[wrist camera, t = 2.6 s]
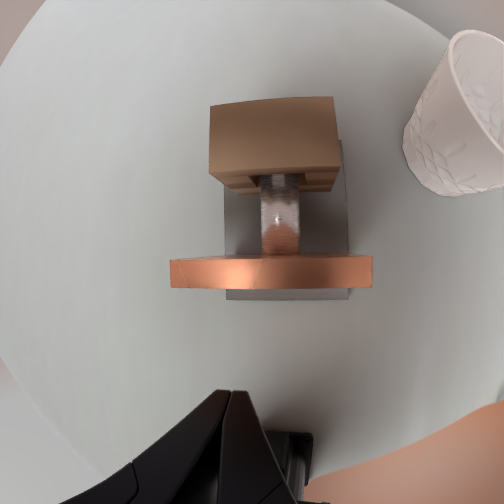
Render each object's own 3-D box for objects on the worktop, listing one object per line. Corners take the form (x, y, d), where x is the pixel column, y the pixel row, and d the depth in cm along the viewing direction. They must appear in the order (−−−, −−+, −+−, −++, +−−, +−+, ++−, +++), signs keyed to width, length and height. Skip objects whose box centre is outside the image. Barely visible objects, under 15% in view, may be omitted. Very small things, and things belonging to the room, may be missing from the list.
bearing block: (346, 297, 18) (366, 322, 12) (228, 298, 20) (192, 321, 13) (340, 142, 18) (352, 96, 12) (226, 149, 20) (191, 109, 13)
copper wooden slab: (341, 268, 17) (372, 287, 9) (231, 270, 19) (170, 287, 10) (338, 188, 17) (363, 139, 9) (229, 193, 19) (171, 153, 10)
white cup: (397, 93, 17) (439, 8, 7) (480, 126, 16) (548, 73, 6) (388, 187, 18) (454, 135, 8) (477, 218, 16) (569, 201, 6)
